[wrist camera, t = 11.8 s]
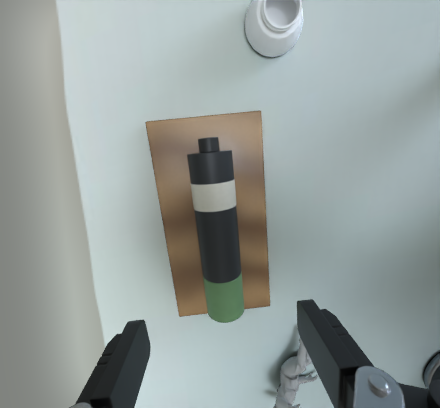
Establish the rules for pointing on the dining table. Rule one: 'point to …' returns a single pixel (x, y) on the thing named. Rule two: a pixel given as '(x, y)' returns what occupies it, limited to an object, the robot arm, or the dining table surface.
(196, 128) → the wooden board
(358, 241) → the dining table surface
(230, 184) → the marker
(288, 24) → the white jar
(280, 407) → the soldier figure
